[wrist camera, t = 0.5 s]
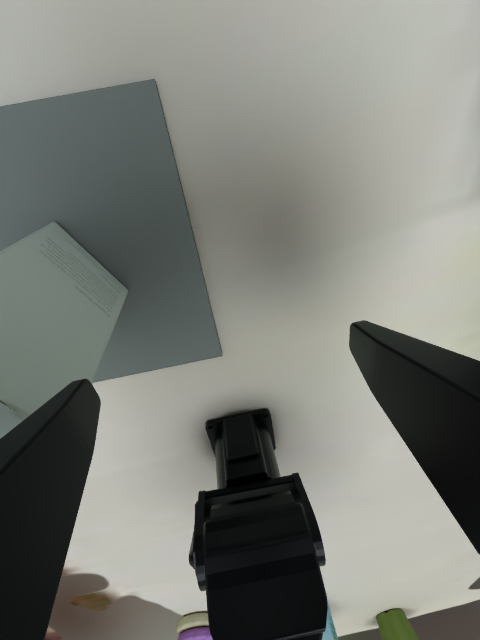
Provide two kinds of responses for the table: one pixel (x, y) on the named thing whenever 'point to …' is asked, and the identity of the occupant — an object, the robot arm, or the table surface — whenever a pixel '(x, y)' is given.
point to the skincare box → (51, 319)
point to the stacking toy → (194, 627)
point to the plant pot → (395, 626)
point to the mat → (113, 214)
